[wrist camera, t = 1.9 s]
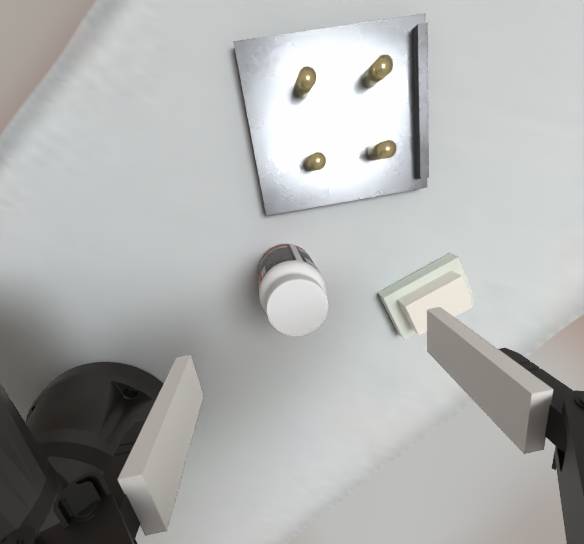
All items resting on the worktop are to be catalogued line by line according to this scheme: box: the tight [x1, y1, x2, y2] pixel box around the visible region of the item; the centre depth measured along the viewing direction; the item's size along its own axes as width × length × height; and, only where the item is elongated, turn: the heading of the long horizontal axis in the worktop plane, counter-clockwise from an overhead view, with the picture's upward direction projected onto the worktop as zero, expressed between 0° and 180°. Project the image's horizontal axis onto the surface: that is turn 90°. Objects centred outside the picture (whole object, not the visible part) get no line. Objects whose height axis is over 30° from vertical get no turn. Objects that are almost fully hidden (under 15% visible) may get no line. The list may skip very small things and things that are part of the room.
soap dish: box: [378, 253, 475, 339], centre depth 32 cm, size 9×6×3 cm, turn 119°
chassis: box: [233, 13, 429, 216], centre depth 25 cm, size 16×14×4 cm
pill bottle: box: [258, 244, 328, 336], centre depth 26 cm, size 6×6×10 cm
